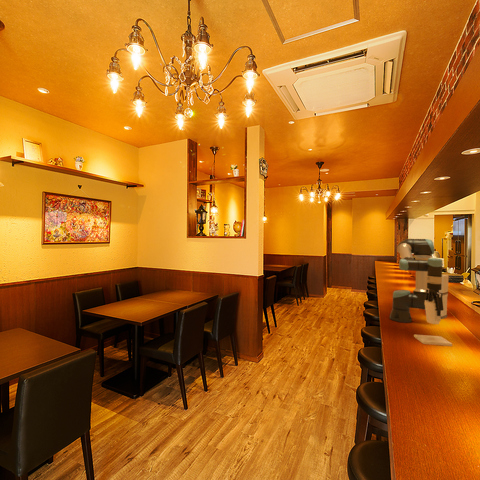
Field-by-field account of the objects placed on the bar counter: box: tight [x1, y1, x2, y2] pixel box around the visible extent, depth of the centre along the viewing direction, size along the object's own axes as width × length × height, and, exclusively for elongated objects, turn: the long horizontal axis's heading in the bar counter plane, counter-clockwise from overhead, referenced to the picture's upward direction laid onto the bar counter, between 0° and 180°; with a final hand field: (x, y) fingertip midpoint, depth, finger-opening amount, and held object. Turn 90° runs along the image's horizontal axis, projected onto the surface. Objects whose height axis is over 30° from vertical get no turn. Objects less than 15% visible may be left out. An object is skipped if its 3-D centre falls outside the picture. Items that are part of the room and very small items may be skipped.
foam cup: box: [425, 300, 441, 325], centre depth 170 cm, size 10×9×13 cm
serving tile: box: [413, 334, 453, 347], centre depth 170 cm, size 12×16×2 cm
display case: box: [439, 274, 449, 320], centre depth 225 cm, size 11×11×35 cm
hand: (433, 318), depth 170 cm, fingers closed on foam cup, 9 cm apart
